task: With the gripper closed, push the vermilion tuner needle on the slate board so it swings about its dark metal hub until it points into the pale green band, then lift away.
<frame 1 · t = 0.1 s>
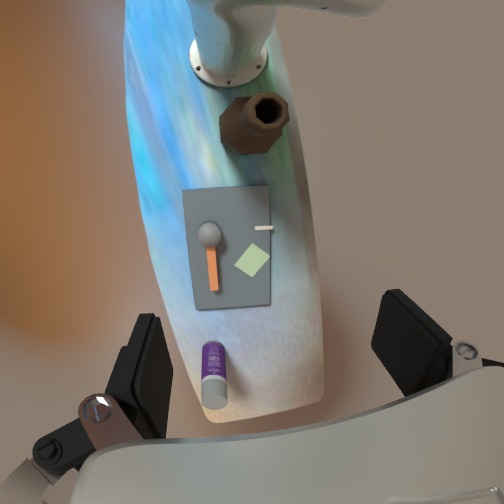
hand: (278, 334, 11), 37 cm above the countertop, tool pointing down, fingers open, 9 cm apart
container: (213, 348, 56), on the countertop
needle: (211, 257, 45), point 3 cm above the countertop, hinge at 0.0°
beer bottle: (242, 132, 41), on the countertop
tuner board: (228, 249, 48), on the countertop
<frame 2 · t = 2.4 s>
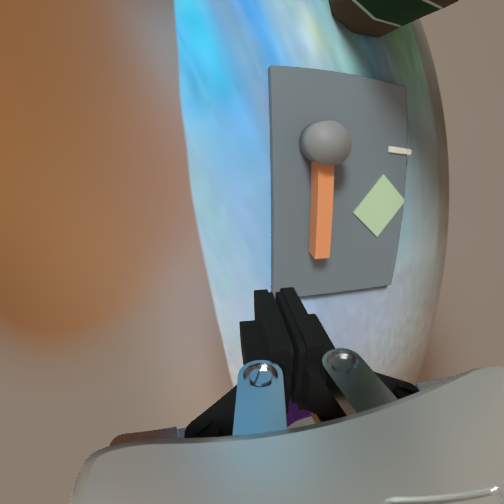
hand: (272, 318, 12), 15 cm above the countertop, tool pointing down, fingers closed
container: (286, 363, 33), on the countertop
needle: (324, 191, 22), point 3 cm above the countertop, hinge at 0.0°
beer bottle: (357, 10, 18), on the countertop
tuner board: (341, 185, 25), on the countertop
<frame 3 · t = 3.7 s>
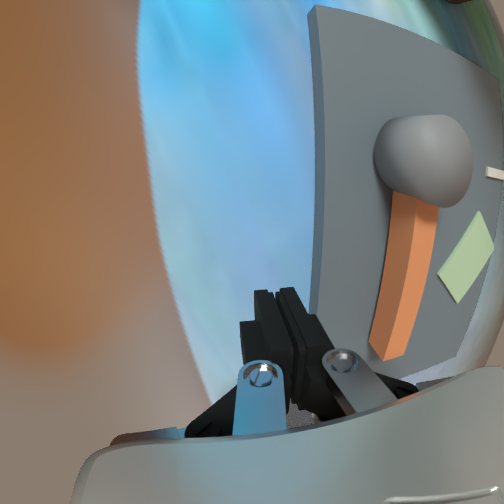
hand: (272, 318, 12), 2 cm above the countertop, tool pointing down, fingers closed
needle: (415, 251, 11), point 3 cm above the countertop, hinge at 0.0°
tuner board: (423, 228, 14), on the countertop
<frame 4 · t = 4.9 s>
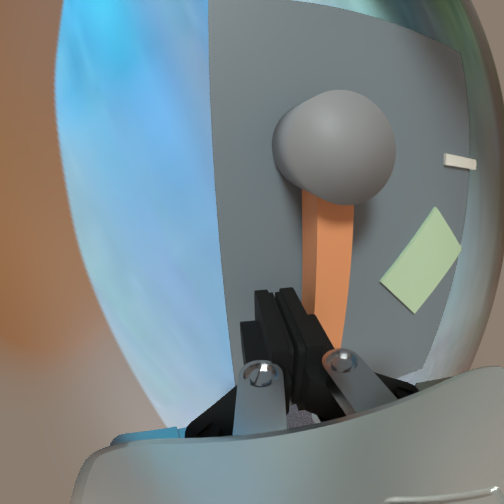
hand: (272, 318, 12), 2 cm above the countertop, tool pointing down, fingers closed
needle: (330, 257, 10), point 3 cm above the countertop, hinge at 1.3°, touching gripper
tuner board: (361, 229, 13), on the countertop
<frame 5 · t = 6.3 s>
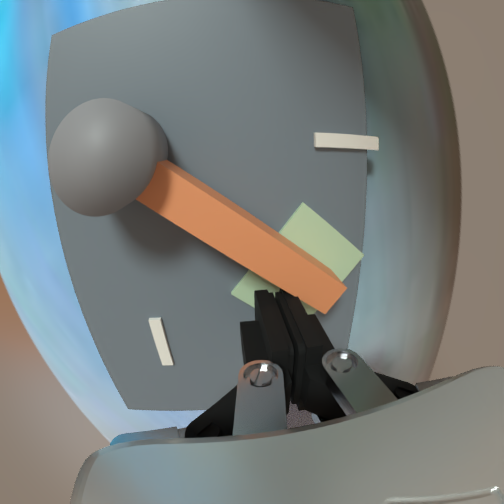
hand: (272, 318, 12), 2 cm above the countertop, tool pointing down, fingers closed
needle: (209, 217, 9), point 3 cm above the countertop, hinge at 51.7°, touching gripper
tuner board: (209, 233, 12), on the countertop
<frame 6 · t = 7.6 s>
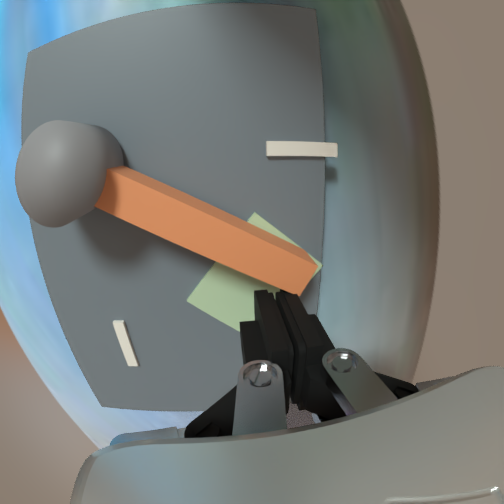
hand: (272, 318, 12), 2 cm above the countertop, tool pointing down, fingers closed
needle: (163, 212, 9), point 3 cm above the countertop, hinge at 60.6°, touching gripper
tuner board: (167, 241, 12), on the countertop
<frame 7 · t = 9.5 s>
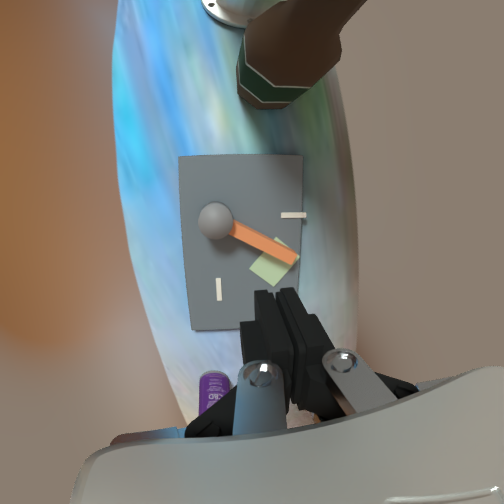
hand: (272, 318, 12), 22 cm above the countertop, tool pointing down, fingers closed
container: (214, 379, 40), on the countertop
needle: (249, 236, 30), point 3 cm above the countertop, hinge at 61.1°
beer bottle: (266, 83, 28), on the countertop
tuner board: (241, 246, 34), on the countertop
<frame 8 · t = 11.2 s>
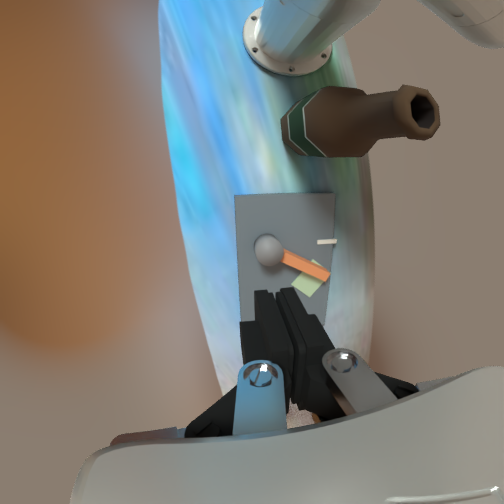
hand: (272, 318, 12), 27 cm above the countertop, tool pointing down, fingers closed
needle: (293, 261, 38), point 3 cm above the countertop, hinge at 61.1°
beer bottle: (305, 129, 34), on the countertop
tuner board: (284, 266, 41), on the countertop
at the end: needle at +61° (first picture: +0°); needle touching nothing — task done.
